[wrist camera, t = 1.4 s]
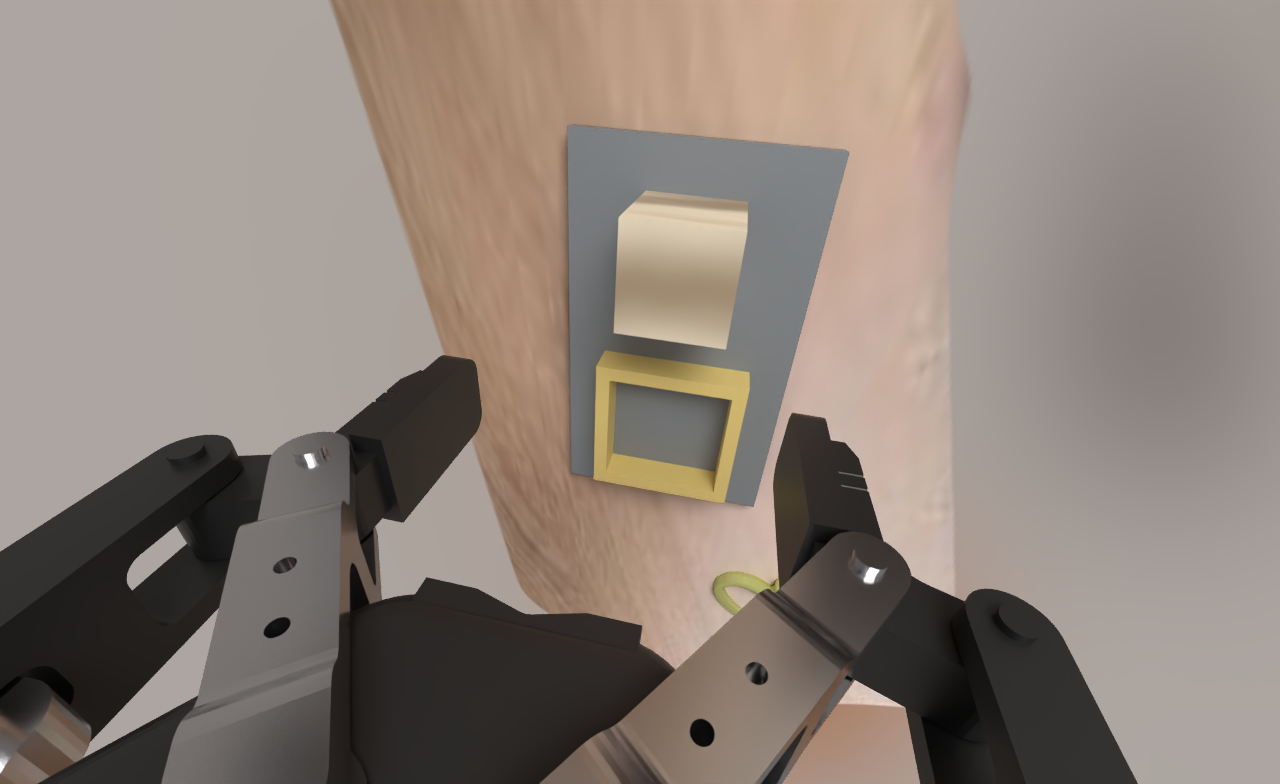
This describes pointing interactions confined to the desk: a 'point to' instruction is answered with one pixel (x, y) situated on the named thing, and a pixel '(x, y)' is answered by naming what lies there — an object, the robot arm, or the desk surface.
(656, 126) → the desk surface
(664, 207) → the beech block
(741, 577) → the key
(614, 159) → the puzzle board
